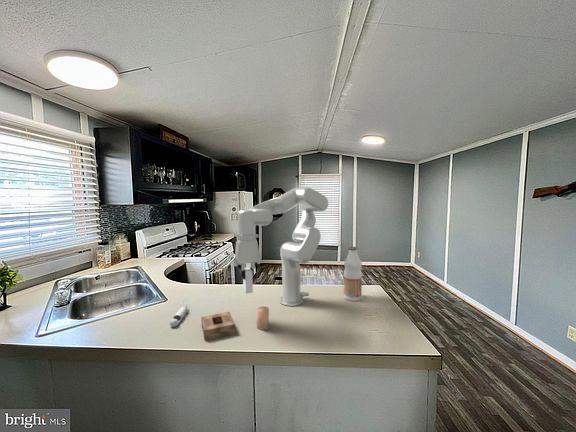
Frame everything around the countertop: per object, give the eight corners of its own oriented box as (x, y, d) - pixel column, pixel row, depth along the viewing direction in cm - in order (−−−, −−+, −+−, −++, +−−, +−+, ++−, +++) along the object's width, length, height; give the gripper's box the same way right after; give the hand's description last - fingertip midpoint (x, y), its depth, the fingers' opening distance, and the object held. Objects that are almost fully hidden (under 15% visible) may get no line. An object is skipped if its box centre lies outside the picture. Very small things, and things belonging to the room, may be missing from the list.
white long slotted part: (178, 328, 109) (178, 313, 109) (167, 328, 109) (166, 314, 108) (191, 309, 127) (191, 296, 127) (181, 309, 127) (181, 297, 126)
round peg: (266, 323, 113) (266, 305, 112) (270, 328, 108) (270, 310, 107) (255, 325, 111) (255, 307, 110) (259, 331, 106) (258, 312, 105)
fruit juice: (348, 302, 133) (349, 249, 131) (340, 295, 143) (341, 246, 140) (364, 300, 135) (365, 248, 133) (356, 294, 145) (357, 245, 142)
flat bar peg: (249, 288, 118) (249, 267, 118) (252, 292, 114) (252, 270, 113) (243, 289, 117) (242, 268, 116) (246, 293, 113) (245, 271, 112)
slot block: (229, 320, 115) (229, 311, 115) (235, 333, 104) (234, 323, 104) (201, 325, 111) (201, 317, 110) (204, 340, 100) (204, 330, 99)
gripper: (261, 235, 120) (262, 273, 122) (226, 237, 114) (227, 277, 115) (267, 237, 113) (267, 278, 115) (230, 240, 107) (231, 283, 108)
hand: (247, 277), depth 115 cm, fingers closed on flat bar peg, 2 cm apart
